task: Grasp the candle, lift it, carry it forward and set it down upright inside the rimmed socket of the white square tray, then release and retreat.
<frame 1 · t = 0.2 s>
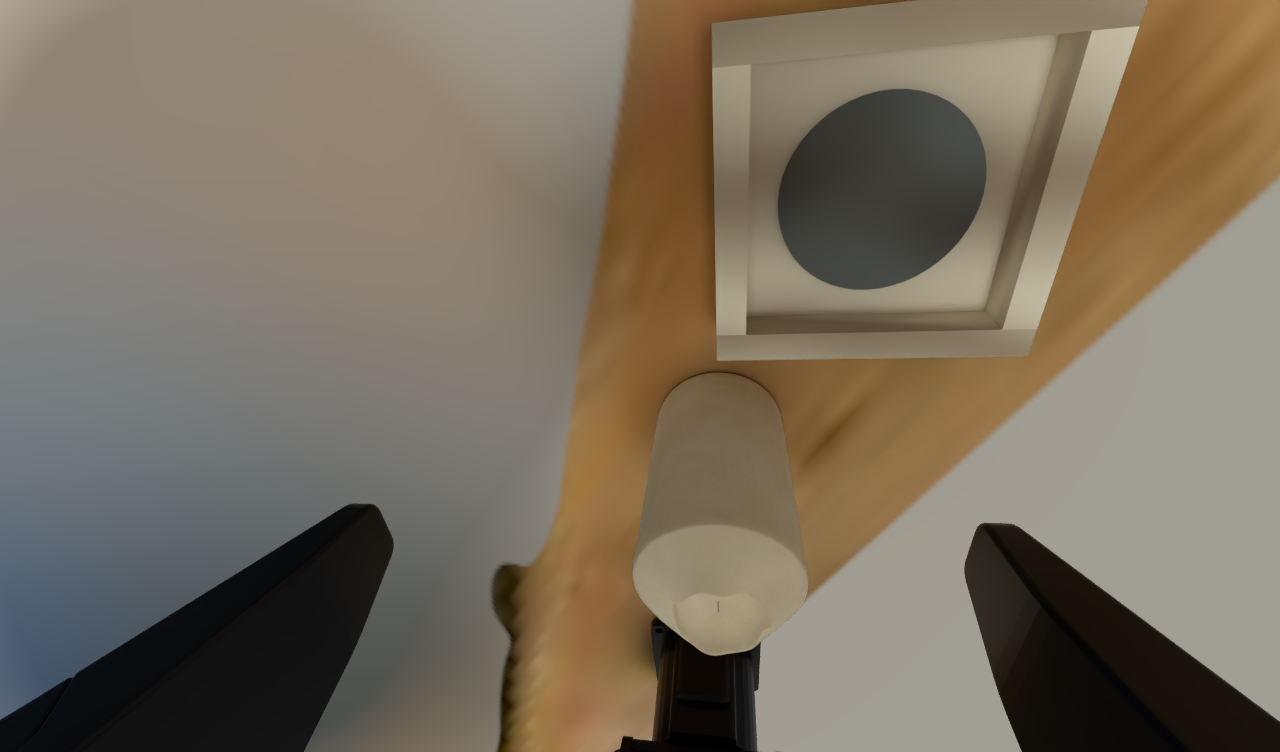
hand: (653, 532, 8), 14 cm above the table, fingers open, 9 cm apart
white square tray: (864, 185, 18), on the table
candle: (718, 419, 24), on the table
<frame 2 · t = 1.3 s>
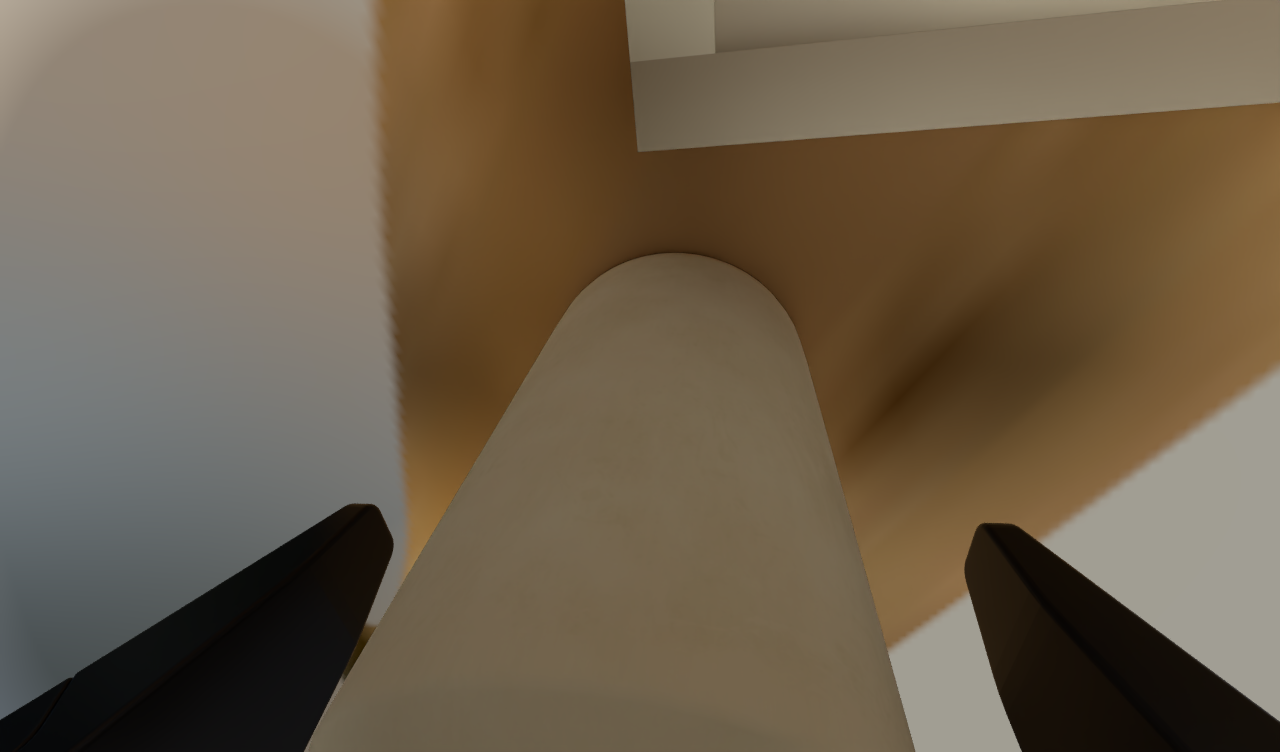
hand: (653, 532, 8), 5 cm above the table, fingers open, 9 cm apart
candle: (676, 363, 12), on the table
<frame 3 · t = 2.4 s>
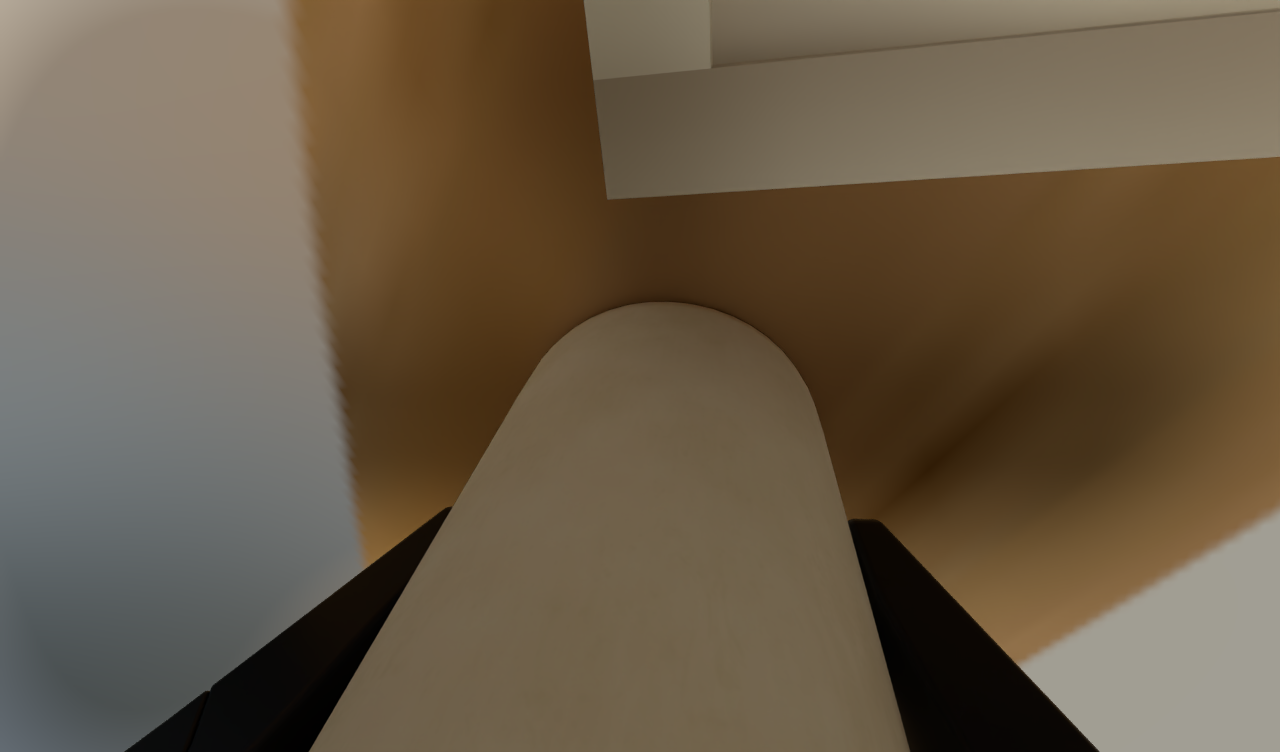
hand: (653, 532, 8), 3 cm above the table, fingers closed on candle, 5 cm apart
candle: (668, 423, 10), on the table, touching gripper
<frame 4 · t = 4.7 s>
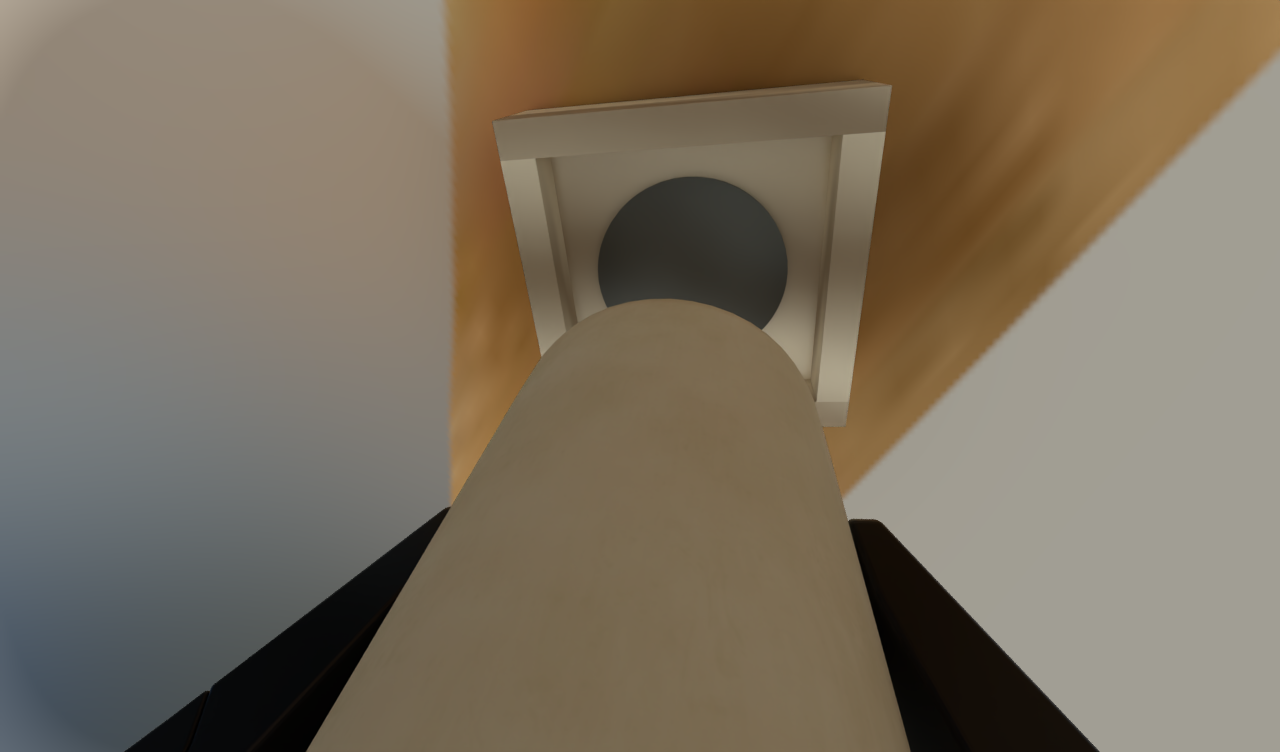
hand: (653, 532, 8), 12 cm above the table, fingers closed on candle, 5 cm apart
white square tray: (692, 257, 18), on the table
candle: (668, 420, 10), point 10 cm above the table, touching gripper
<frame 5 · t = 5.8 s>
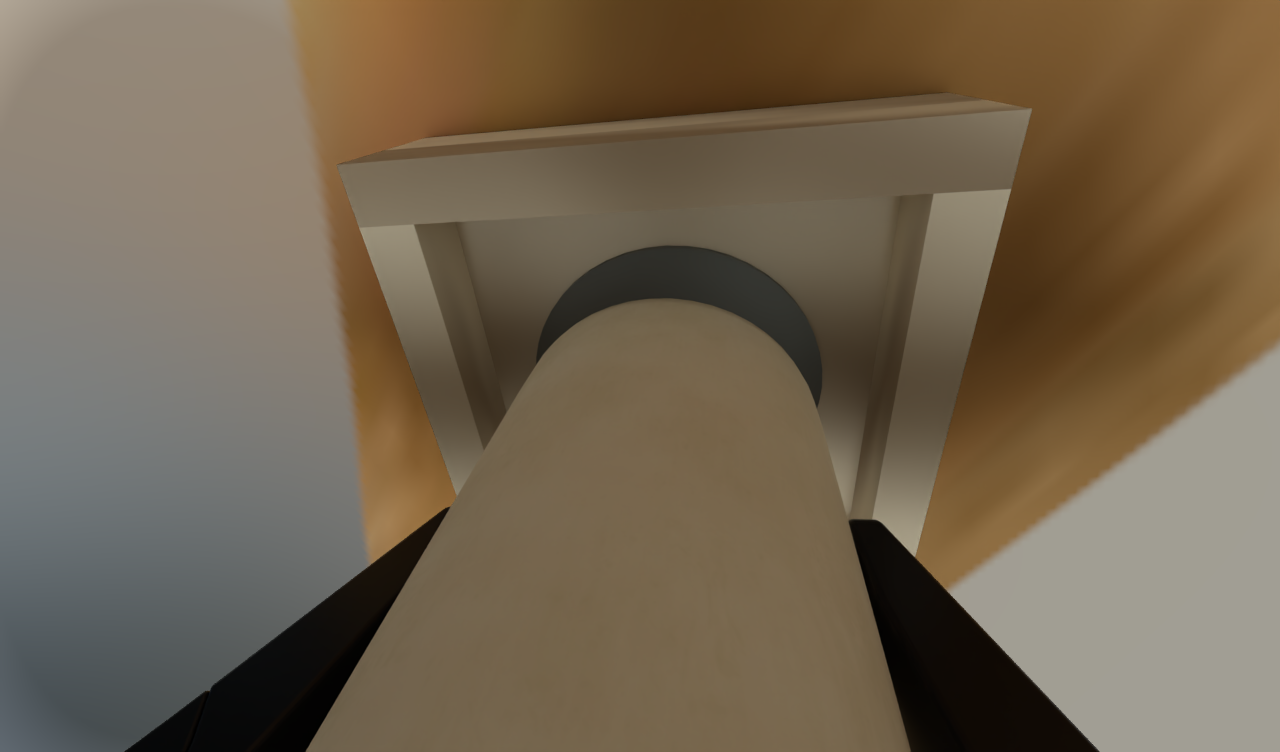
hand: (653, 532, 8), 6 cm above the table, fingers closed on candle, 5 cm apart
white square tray: (679, 346, 13), on the table
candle: (668, 420, 10), point 3 cm above the table, touching gripper
when the fingers open (5 cm above the table, at t = 6.7 s): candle stays where it is, resting on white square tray.
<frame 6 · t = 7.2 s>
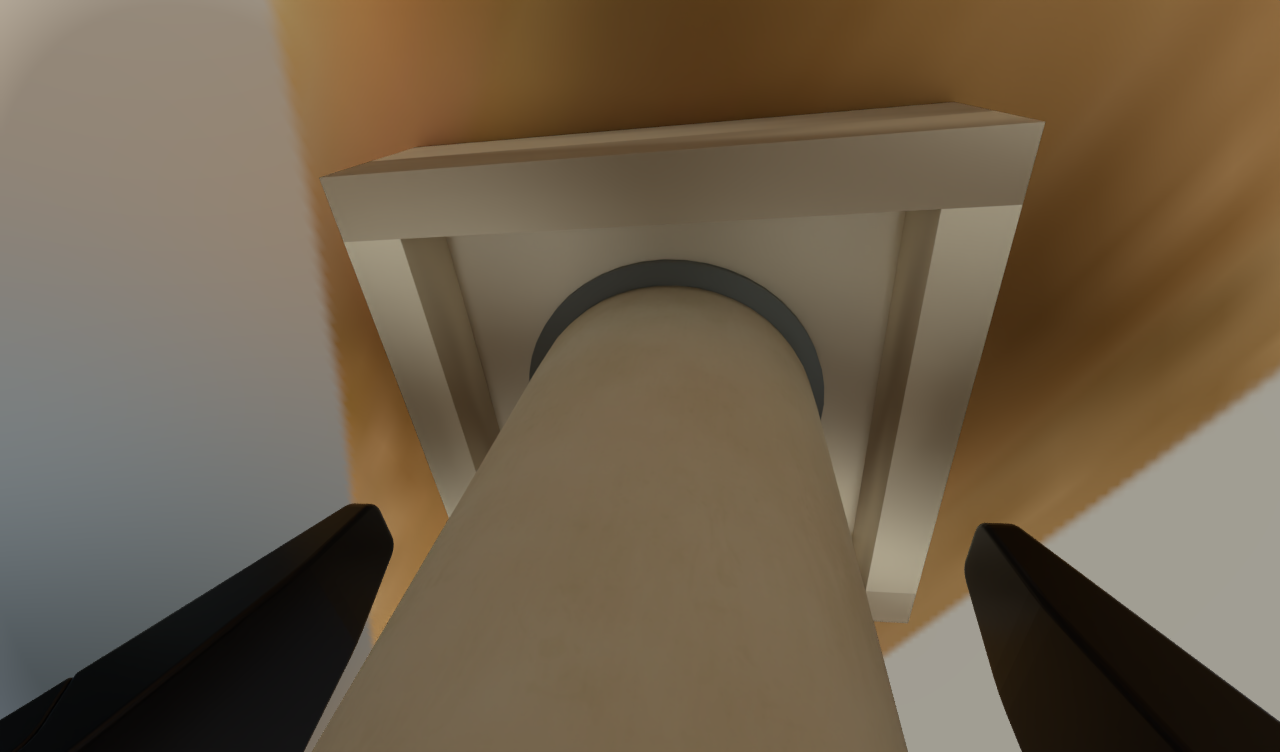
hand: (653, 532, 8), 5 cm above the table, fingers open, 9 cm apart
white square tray: (677, 360, 12), on the table
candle: (672, 401, 11), point 2 cm above the table, touching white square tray
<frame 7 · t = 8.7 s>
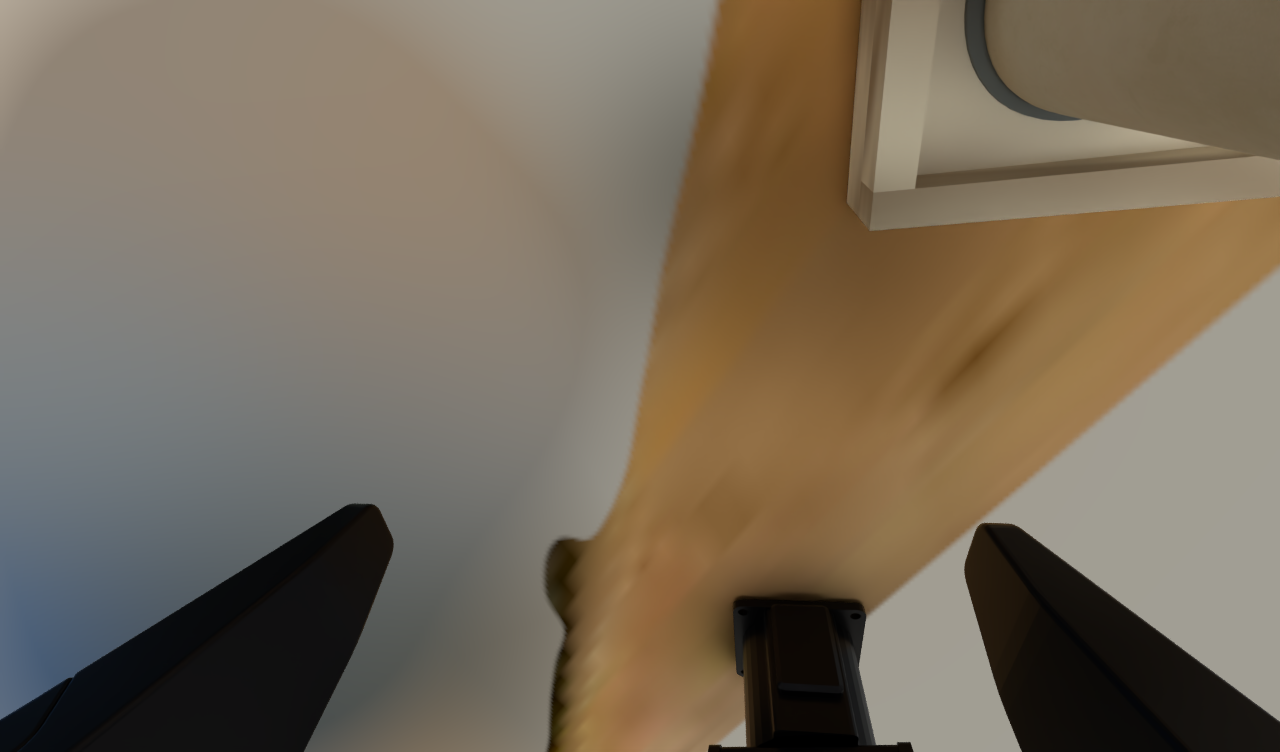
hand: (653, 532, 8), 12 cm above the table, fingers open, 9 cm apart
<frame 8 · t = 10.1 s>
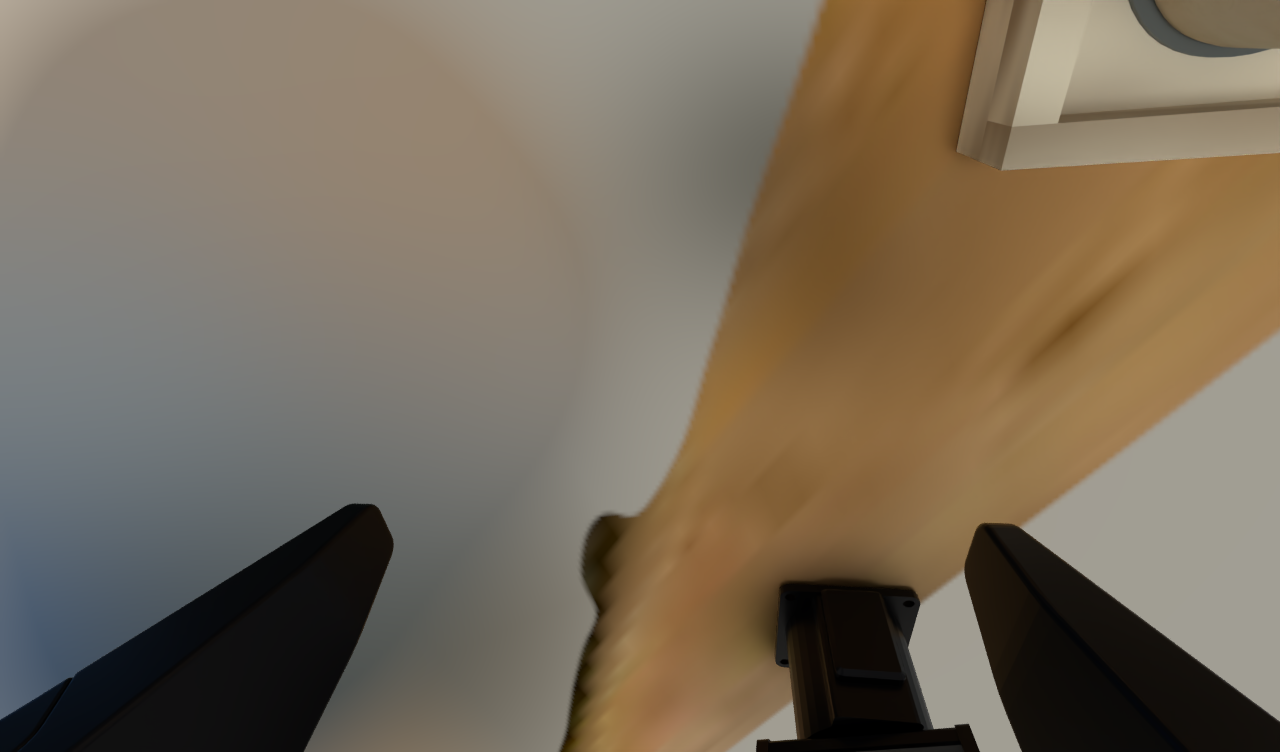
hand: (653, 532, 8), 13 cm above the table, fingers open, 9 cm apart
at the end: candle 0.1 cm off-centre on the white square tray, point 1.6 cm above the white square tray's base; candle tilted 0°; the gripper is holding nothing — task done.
